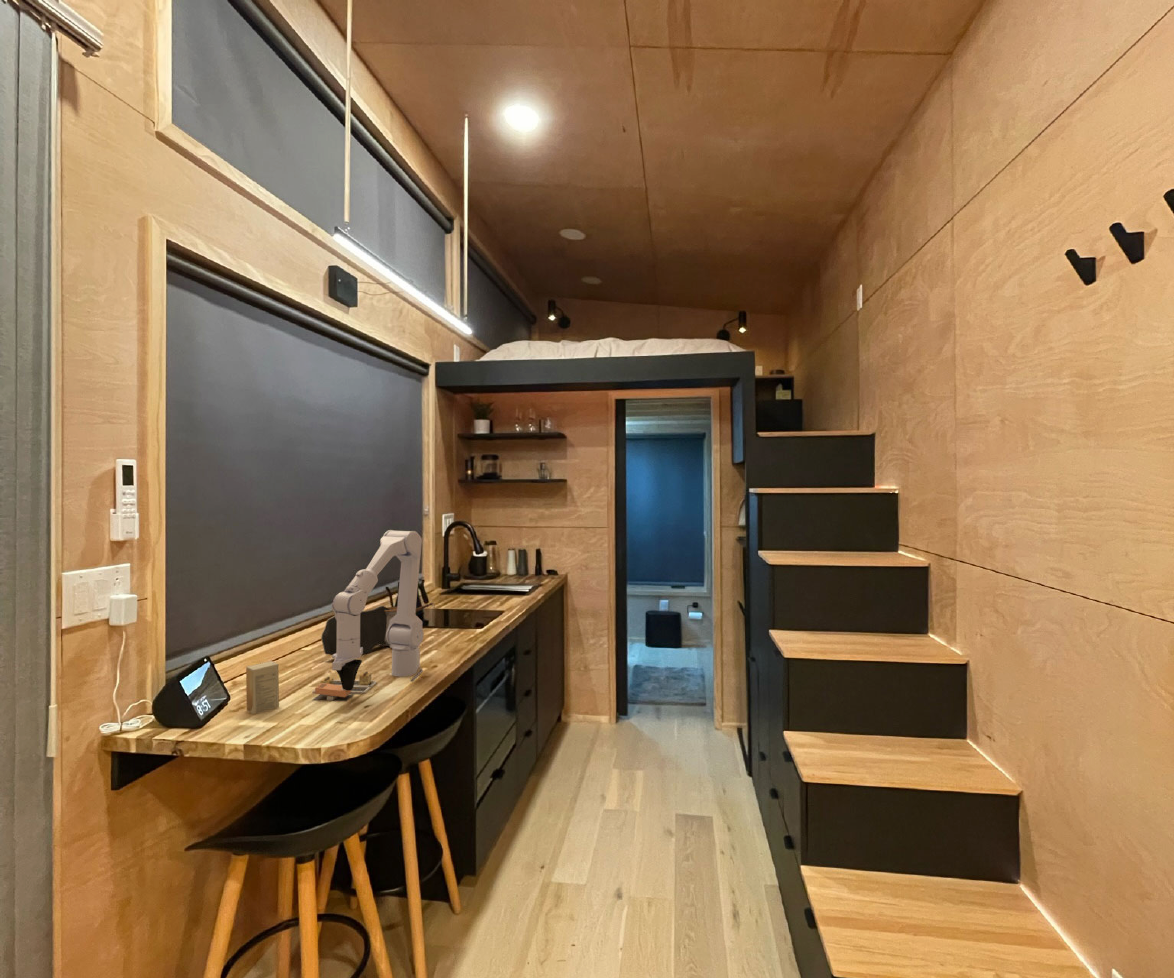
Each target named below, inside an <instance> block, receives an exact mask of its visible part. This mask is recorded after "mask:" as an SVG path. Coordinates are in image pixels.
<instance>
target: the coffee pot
mask: <svg viewBox="0 0 1174 978" xmlns="http://www.w3.org/2000/svg"><path fill="white" fill-rule="evenodd" d="M430 606H432V608H433V609H435V608H436V606H435V604H434V602H430V603H429V604H428V603H426V604H425V605H423V606H419V607H416V612H415V613H417V612H420V611H422V610H424V609H426V608H429V607H430ZM386 608H388V609H389V610H384V611H385V613H386V615H387V626H386V632H387V630H388V627H389V622H390V620H391V619H392V618H393V617H394V616H395V615H396V614H397V606H389V607H386ZM401 625H404V624H401ZM385 642H386V644H380V645H381V647H384V646H390V644H389V643H388V642H387V640H386V634H385ZM380 645H379V646H380Z"/></svg>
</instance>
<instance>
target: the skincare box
mask: <svg viewBox="0 0 1174 978" xmlns="http://www.w3.org/2000/svg"><path fill="white" fill-rule="evenodd" d="M245 670H246V672H245V673H246V674H245V675H246V685H245V686H246V692H245V693H246V711H247V712H248V713H250V714H252V715H257V714H260V713H263V712H268V711H270V710H274V709H277V708H280V696H279V694H280V684H279V679H280V678H279V677H280V676H279V673H280V672H279V663H277V662H275V661H273V660H269V661H265V662H262V663H261V662H260V663H256V664H253V665H248V666H246V667H245Z"/></svg>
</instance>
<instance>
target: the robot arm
mask: <svg viewBox="0 0 1174 978" xmlns="http://www.w3.org/2000/svg"><path fill="white" fill-rule="evenodd" d="M379 541H380V543H379V545H380V546H379V548H378V549H377V551H376V552H375V554H374V555H373V557H372V559H371V561H370V562H369V564H368V565H367V566H366V568H365V569H360V570H358V571H357V572H356V573H355V576H354V577H353V579H352V580H351V581H350V582H349V584H348V585H347V586H346V587H345V589H344V590H343V591H341V592H339V593H337V594H336V595H335V597H333V601H332V603H331V610H332V612H333V613H334V615H335V618H336V620H337V653H336V654H333V655H331V659H332V658H333V659H334V661H333V662H332V663H331V664H332V665H331V667H332V671H336V672H337V674H338V678H339V680H341V684H342V688H343V689H345V690H352V689H353V687H354V683H355V680H356V678H357V673H358V671H359V669H360V667H361V665H362V662H363V661H362V659H360V658H361V657H362V655H364V654H363V647H360V613H361V612H362V611H365V609H366V604H367V600H368V598H369V597H368V596H369V595H370V593H371V592H372V591H373V589H374V588H375V586H376V585H377V583H378V581H379V579H378V575H379V574H380V572H381V571H383V569H384V568H385V567H386V566H387V564H388V563H389V562H390V561H391V559H392V558H393V557H396V558H397V559H398V560H399V561H400V573H399V585H398V595H397V606H396V607H397V614H396V615H395V616H394V617H393V618H392V619H391V620H390V622H389V627H388V630H387V632H386V640H387V642H388V643H389V644H390V647H389V648H391V675H392V676H394V677H399V678H401V677H402V678H403V677H405V678H406V677H411V676H413V677H412V678H411V680H410V682H414V681H415V680H416V679H417V678H418V677H419V676H420V675H421V673H422V672H423V671H424V669H420V666H421V664H420V663H421V661H420V659H421V658H420V657H421V650H420V645H421V644H422V642H423V640H424V634H425V633H424V629H423V621H422V619H420V617H419V616H417V615H416V614H417V612H416V608H417V599H418V598H417V597H418V587H419V585H418V584H419V574H420V564H421V563H420V562H421V553H422V544H423V543H422V541H423V539H422V537H421V535H420V534H419V533H418V532H417V531H415V530H411V531H410V530H393V529H389V530H387V531H385V533H383V536H382V537H381V538H380V540H379ZM401 624H403V625H401ZM419 669H420V670H419ZM418 670H419V671H418ZM414 675H415V676H414ZM418 675H419V676H418Z"/></svg>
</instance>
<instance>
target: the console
mask: <svg viewBox="0 0 1174 978" xmlns="http://www.w3.org/2000/svg"><path fill="white" fill-rule="evenodd" d="M376 684H377V685H376ZM333 685H341V686H342V684H341V680H340V679H333ZM375 685H376V686H379V687H381V684H378V681H376V680H371V684H370V685H359V680H358V679H355V683H354V687H353V689H352V690H351V693H350V694H348V695H347V696H346V697H339V696H331V695H323V694H317V696H315V697H314V698H313V699H312V701H322V702H323V701H325V702H326V701H330V702H331V701H333V702H336V701H337V702H339V701H341V702H347V701H349V700H350V699H351V698H352V697H354V695H363V694H367V692H369V691H370V692H371V693H372V692H374V690H371V688H373V687H374V686H375ZM312 694H315V689H313V690H312Z"/></svg>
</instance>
